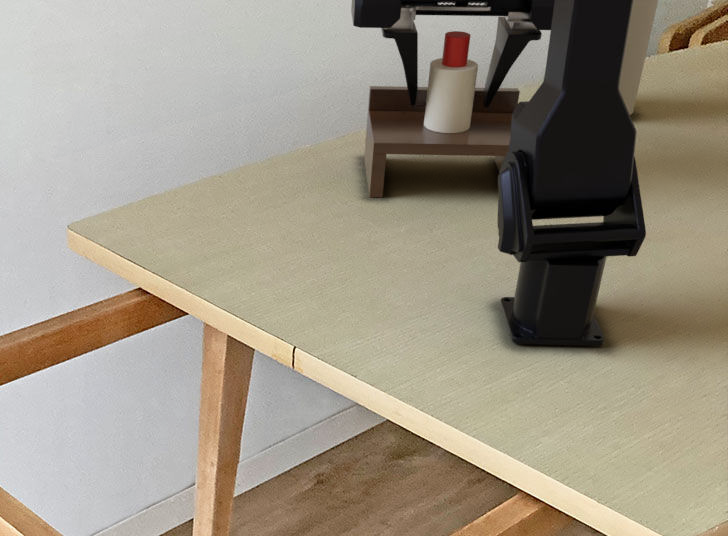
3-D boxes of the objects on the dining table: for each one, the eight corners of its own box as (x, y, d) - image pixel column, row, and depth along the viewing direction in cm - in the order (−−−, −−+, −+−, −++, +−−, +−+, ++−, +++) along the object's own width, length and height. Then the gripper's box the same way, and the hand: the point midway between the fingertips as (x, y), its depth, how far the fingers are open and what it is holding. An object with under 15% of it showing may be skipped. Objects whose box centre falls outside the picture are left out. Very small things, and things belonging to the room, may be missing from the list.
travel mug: (610, 127, 114) (650, -61, 103) (543, 111, 118) (575, -72, 107) (645, 110, 119) (688, -73, 108) (580, 94, 123) (614, -83, 112)
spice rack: (523, 200, 98) (536, 122, 94) (369, 197, 99) (375, 120, 95) (506, 160, 106) (518, 88, 102) (364, 158, 107) (369, 85, 103)
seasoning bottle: (472, 133, 98) (485, 41, 93) (425, 133, 98) (436, 40, 93) (466, 118, 101) (478, 28, 96) (421, 118, 101) (431, 27, 96)
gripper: (567, -102, 95) (536, 80, 104) (355, -104, 96) (343, 77, 105) (595, -79, 86) (558, 118, 96) (360, -81, 87) (347, 114, 96)
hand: (449, 105), depth 98 cm, fingers open, 6 cm apart
